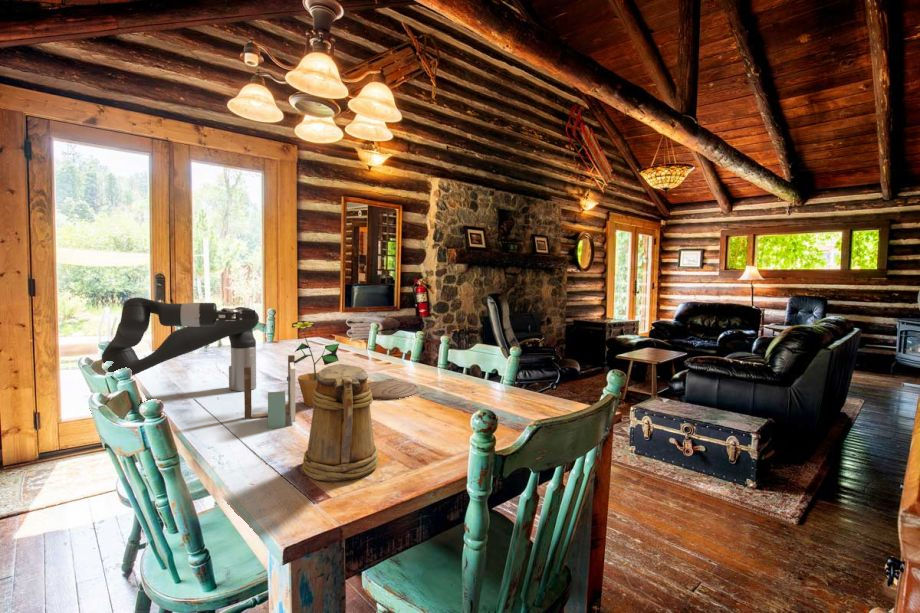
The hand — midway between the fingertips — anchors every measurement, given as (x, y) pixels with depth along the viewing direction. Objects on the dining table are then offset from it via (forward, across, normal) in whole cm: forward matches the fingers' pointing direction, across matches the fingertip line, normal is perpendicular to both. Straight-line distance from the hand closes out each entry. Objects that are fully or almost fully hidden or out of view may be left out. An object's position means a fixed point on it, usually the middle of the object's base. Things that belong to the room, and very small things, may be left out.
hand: (255, 314), depth 150 cm
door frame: (+5, +2, -34) cm, 34 cm away
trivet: (+50, -16, -34) cm, 62 cm away
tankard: (+20, +53, -35) cm, 66 cm away
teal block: (+6, +12, -34) cm, 37 cm away
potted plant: (+20, -8, -34) cm, 40 cm away
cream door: (+11, +9, -33) cm, 36 cm away
